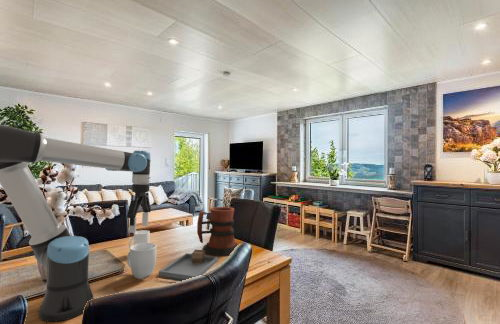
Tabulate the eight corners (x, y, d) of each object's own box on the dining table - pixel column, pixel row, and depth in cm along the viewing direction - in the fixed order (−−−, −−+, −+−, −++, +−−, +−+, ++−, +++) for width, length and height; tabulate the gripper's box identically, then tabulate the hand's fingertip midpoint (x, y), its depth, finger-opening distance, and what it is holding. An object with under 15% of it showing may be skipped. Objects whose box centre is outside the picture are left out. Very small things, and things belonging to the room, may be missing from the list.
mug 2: (117, 276, 114) (118, 246, 114) (137, 267, 124) (138, 240, 124) (142, 283, 108) (143, 252, 108) (161, 273, 118) (162, 244, 118)
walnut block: (201, 263, 128) (202, 253, 128) (192, 263, 128) (192, 252, 128) (204, 259, 133) (204, 250, 133) (195, 259, 133) (195, 249, 133)
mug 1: (132, 259, 135) (132, 236, 135) (124, 255, 140) (124, 233, 140) (152, 253, 144) (153, 231, 144) (144, 250, 149) (144, 229, 150)
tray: (196, 283, 109) (196, 276, 109) (158, 278, 114) (158, 271, 114) (218, 263, 132) (218, 257, 132) (186, 259, 137) (186, 253, 137)
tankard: (245, 256, 142) (246, 211, 142) (199, 260, 135) (200, 213, 135) (235, 244, 163) (236, 205, 163) (195, 247, 156) (195, 206, 156)
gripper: (137, 185, 109) (135, 236, 109) (158, 182, 134) (156, 223, 134) (119, 185, 109) (117, 235, 109) (143, 181, 134) (142, 223, 134)
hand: (139, 229), depth 121 cm, fingers open, 13 cm apart
